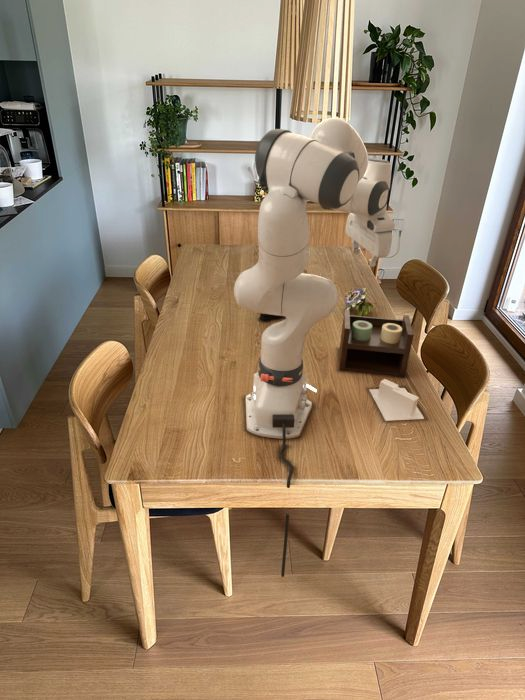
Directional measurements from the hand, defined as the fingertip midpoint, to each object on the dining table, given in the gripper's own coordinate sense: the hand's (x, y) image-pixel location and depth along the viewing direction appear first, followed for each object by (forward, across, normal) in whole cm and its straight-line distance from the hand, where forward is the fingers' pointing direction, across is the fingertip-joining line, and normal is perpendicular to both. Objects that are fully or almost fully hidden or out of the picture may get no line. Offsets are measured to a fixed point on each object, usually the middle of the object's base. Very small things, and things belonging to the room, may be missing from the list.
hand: (363, 259), depth 154 cm
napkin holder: (+29, +34, -5) cm, 45 cm away
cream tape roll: (+20, +16, +4) cm, 26 cm away
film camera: (+33, -29, -17) cm, 47 cm away
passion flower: (+34, -21, +15) cm, 43 cm away
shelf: (+30, +13, 0) cm, 33 cm away
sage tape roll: (+20, +11, -4) cm, 24 cm away
